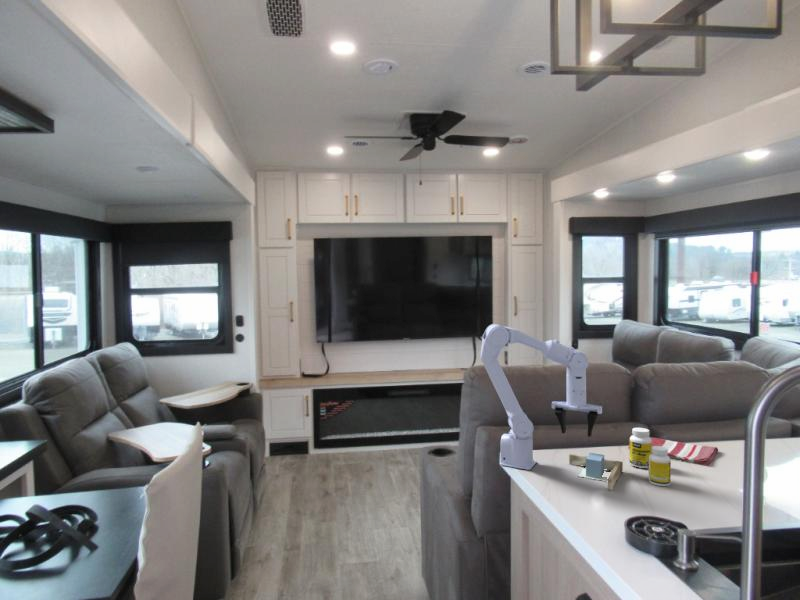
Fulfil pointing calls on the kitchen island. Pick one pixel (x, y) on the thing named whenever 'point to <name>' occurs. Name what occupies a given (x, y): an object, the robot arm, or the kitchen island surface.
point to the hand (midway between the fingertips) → (576, 434)
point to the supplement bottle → (659, 466)
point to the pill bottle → (640, 447)
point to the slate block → (595, 465)
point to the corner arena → (608, 464)
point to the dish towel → (686, 451)
